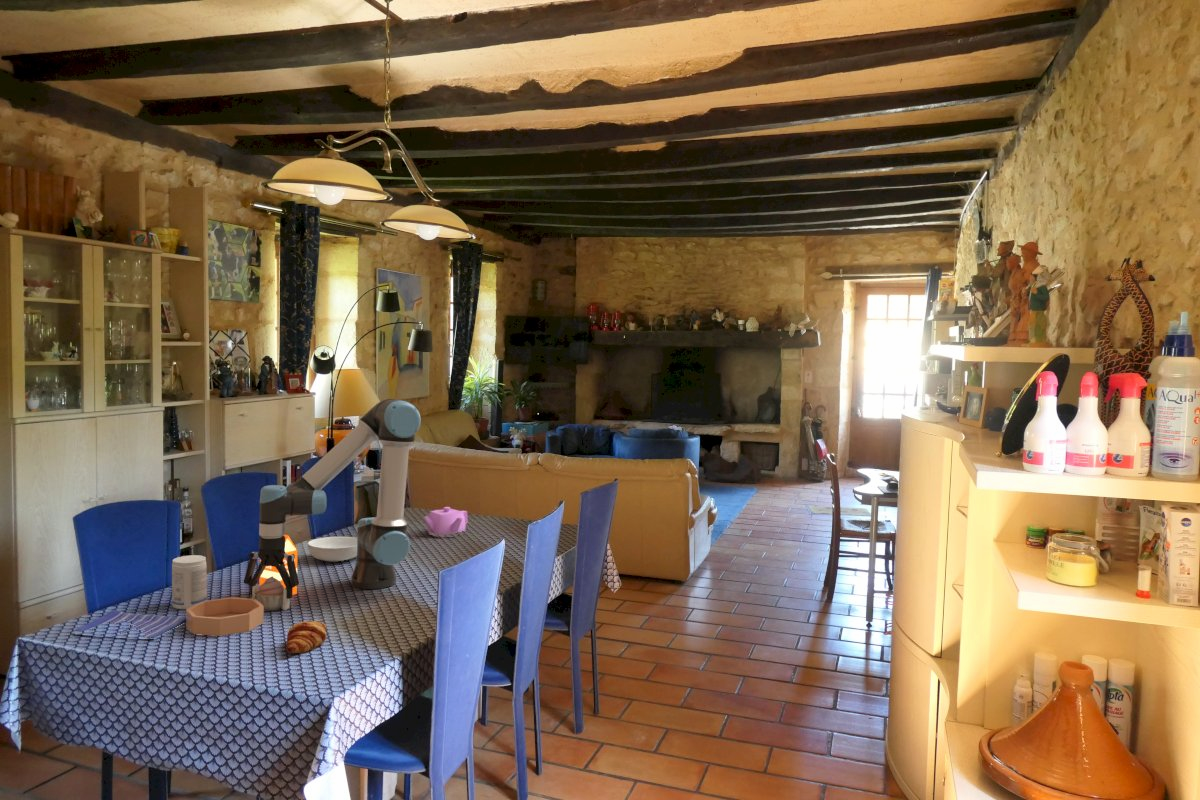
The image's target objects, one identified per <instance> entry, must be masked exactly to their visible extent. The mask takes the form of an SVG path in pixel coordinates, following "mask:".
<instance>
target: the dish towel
mask: <svg viewBox="0 0 1200 800" xmlns="http://www.w3.org/2000/svg"><path fill="white" fill-rule="evenodd" d="M123 620H125V621H123ZM130 621H133V623H135V624H134V625H136V626H137V627H138V628H136V630H134V631H139V630H142V631H143V629H144V630H145V631H143V632H144V634H145V635H143V636H141V637H147V638H155V637H157V636H159V635H161V634H163V633H165V632H167V631H169V630H171V629H173V628H175V627H177V626H179V625H181V624H183V623H185V622H186V615H185V616H181V615H179V616H165V615H156V614H141V613H131V612H130V613H129V612H124V611H122V610H121V611H120V610H116V609H112V610H111V611H108V612H107V613H106V614H104V615H101V616H100V617H98V618H96V619H94V620H93V621H91V622H88V623H86V624H83V625H82V626H79V627H77V628H76V629H75V630H74V631H86V630H88V629H90V628H92V627H95V626H98V625H100V624H104V623H107V622H108V623H109V622H110V623H111V624H113V623H115V624H116V623H118V624H119V623H122V622H130ZM185 624H186V623H185ZM130 625H132V626H133V624H129V626H130ZM141 625H142V626H141ZM183 625H184V624H183ZM136 626H134V627H136ZM181 626H182V625H181ZM122 628H124V627H122ZM130 629H131V630H132V629H135V628H130ZM127 630H128V631H130V630H129V629H127ZM127 630H123V631H118V632H119V633H120V634H121V632H122V633H123V632H124V631H127ZM151 630H152V631H151ZM153 630H154V631H153ZM149 631H150V632H149ZM116 633H117V632H116ZM146 633H147V634H146ZM142 634H143V633H142ZM126 635H127V634H126ZM130 635H131V634H130ZM138 635H140V634H138Z"/></svg>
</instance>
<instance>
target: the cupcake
mask: <svg viewBox="0 0 1200 800" xmlns="http://www.w3.org/2000/svg"><path fill="white" fill-rule="evenodd" d="M283 590H284V586H283V585H282V584H281V582H280V581H279V580H277V579H275V578H273V576H272V577H270V578H268V579H266V580H265V582H264V583H263V584H262V585H260V584H259V591H258V592H257V593H255V596H256V597H257V600H258V602H260V603H261V604H262V605H263V606H264V611H266V612H267V611H268V612H270V611H277V610H280V609H281V608H283Z"/></svg>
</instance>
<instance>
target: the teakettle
mask: <svg viewBox="0 0 1200 800" xmlns="http://www.w3.org/2000/svg"><path fill="white" fill-rule="evenodd" d="M423 520H424V522H425V523H426V526H427V527H426V532H427V531H428V532H431V533H434V534H437V535H445V534H452V533H457V532H462V531H465V532H466V525H467V524H469V520H468V511H467V510H458V509H455V508H454V509H453V508H451V507H450V506H445V507H443V508H442V509H434V510H430V512H429V515H426V516H423ZM428 532H427V533H428Z"/></svg>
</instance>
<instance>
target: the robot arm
mask: <svg viewBox="0 0 1200 800" xmlns="http://www.w3.org/2000/svg"><path fill="white" fill-rule="evenodd" d="M421 421H422V419H421V413H420V411H419V410H418V409H417V407H416V406H415V405H413V404H412V403H410V402H408V401H405V400H401V399H394V398H385V399H383V400H381V401H379V402H377V403H376V404H375V405H374V406H373V407H371V408H370V409H369V410H368V411H367V412H366V413H365V414H364V415H362V416H361V418H360V419H359V420H358V421H357V422H358V423H357V424H358V425H356V426H355V427H354V428H353V429H352V430H351V431H350V432H349V433H348V434H347V435H345V436H344V437H343V438H342V439H341V440H340V441H339V442H338V443H337V444H336V445H335V446H333V447H332V448H331V449H330V450H329V451H328V452H327V453H326V454H325V455H324V456H322V458H321V459H319V460H318V461H317V462H316V463H315V464H313V466H312V467H310V469H309V470H307V471H306V472H305V473H304V474H303V475H302V476H300V477H299V478H298V479H297V480H296V481H295V482H291V483H289V484H287V485H286V486H285V485H282V484H278V485H277V484H271V485H269V484H268V485H265V486H263V487H262V488H261V489H260V494H259V496H260V497H259V525H258V527H259V528H258V529H259V530H258V534H259V535H258V536H260V537H259V538H258V548H259V550H258V551H255V550H254V551H252V552H249V554H248V564H247V568H246V571H245V575H244V579H243V584H245V585H248V586H249V596H250V597H251V599H256V600H257V597H256V596H255V593H257V592H258V591H259V586H260V583H259V581H260V576H261V575H262V573H263V571H264V569H265V567H266V566H272V567H276V569H277V570H278V572H279V574H280V576H281V578H282V580H283V582H284V584H285V586H286V588H284V590H283V603H282V610H283V611H286V610H288V609H289V608H290V605H291V599H292V598H293V596H294V595H293V587H295V586H299V584H300V581H299V577H298V570H297V571H296V567H295V562H294V560H295V555H294V554H291V555H290V554H286V553H285V536H284V535H286V522H287V521H286V519H287V517H290V516H291V517H292V516H305V515H306V516H308V515H314V516H315V515H319V514H320V515H321V514H323V513H325V512H326V509H327V505H328V504H327V503H328V502H327V501H328V499H327V494H326V492H325V491H324V490H322V489H323V488H325V487H326V486H327V485H328V484H329V483H330V482H331V481H332V480H333V479H335V478H336V477H337V475H339V474H340V473H341V472H342V471H343V470H344V469H345V468H346V467H347V466H349V465H350V464H351V463H352V462H353V461H354V460H355V459H356V458H357V457H358V456H359V455H360V454H361V453H363V452H364V451H365V450H366V449H367V448H368V447H369V446H371V444H372V443H373V442H378V441H379V443H381V445H382V451H381V452H382V453H381V459H380V460H381V461H380V464H381V465H380V472H379V473H380V474H379V484H378V485H379V488H378V497H377V499H378V500H377V509H376V516H375V517H374V516H373V517H365V518H364V517H363V518H360V519H359V520H358V522H357V527H356V530H357V533H356V534H357V535H356V536H357V537H356V538H357V556H356V563H355V565H354V568H353V571H352V574H351V577H350V585H351V586H352V587H354V588H357V589H364V590H376V589H377V590H378V589H384V588H389V586H390V587H392V586H394V585H396V584H397V575H396V571H395V568H394V565H398V564H399V563H402V562H403V561H404V560H405V558H407V556H408V555H409V553H410V549H411V541H410V539H409V537H408V535H407V532H408V522H407V521H406V520H405V518H404V515H405V514H404V512H405V499H406V488H407V476H408V465H409V453H410V447H411V446H412V445H413V444H414V443H415V439H416V437H415V436H416V433H417V432H418V431H419V429H420V427H421ZM258 558H259V560H260V559H261V562H260V561H259V564H258V567H257V569H256V565H257V561H258ZM284 558H285V559H286V561H287V567H288V571H289V574H288V572H287V570H286V568H285V564H284V561H283V559H284ZM279 564H280V565H279ZM255 569H256V570H255ZM254 571H255V572H254ZM257 601H258V600H257Z"/></svg>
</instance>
